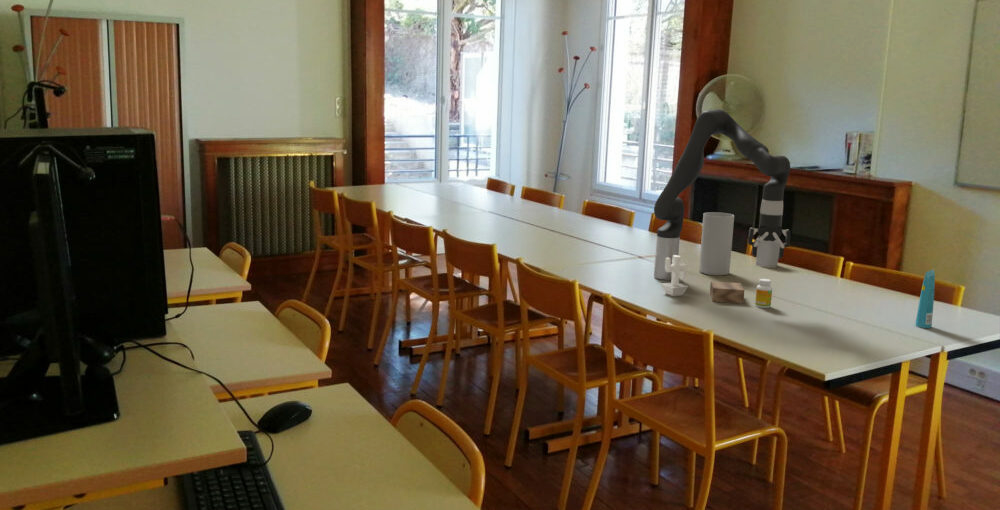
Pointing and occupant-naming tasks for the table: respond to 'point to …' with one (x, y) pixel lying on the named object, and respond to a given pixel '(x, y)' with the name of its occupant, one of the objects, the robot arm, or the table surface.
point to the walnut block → (727, 292)
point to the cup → (767, 254)
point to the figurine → (675, 276)
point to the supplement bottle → (763, 294)
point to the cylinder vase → (716, 243)
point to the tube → (926, 301)
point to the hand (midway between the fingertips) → (767, 257)
